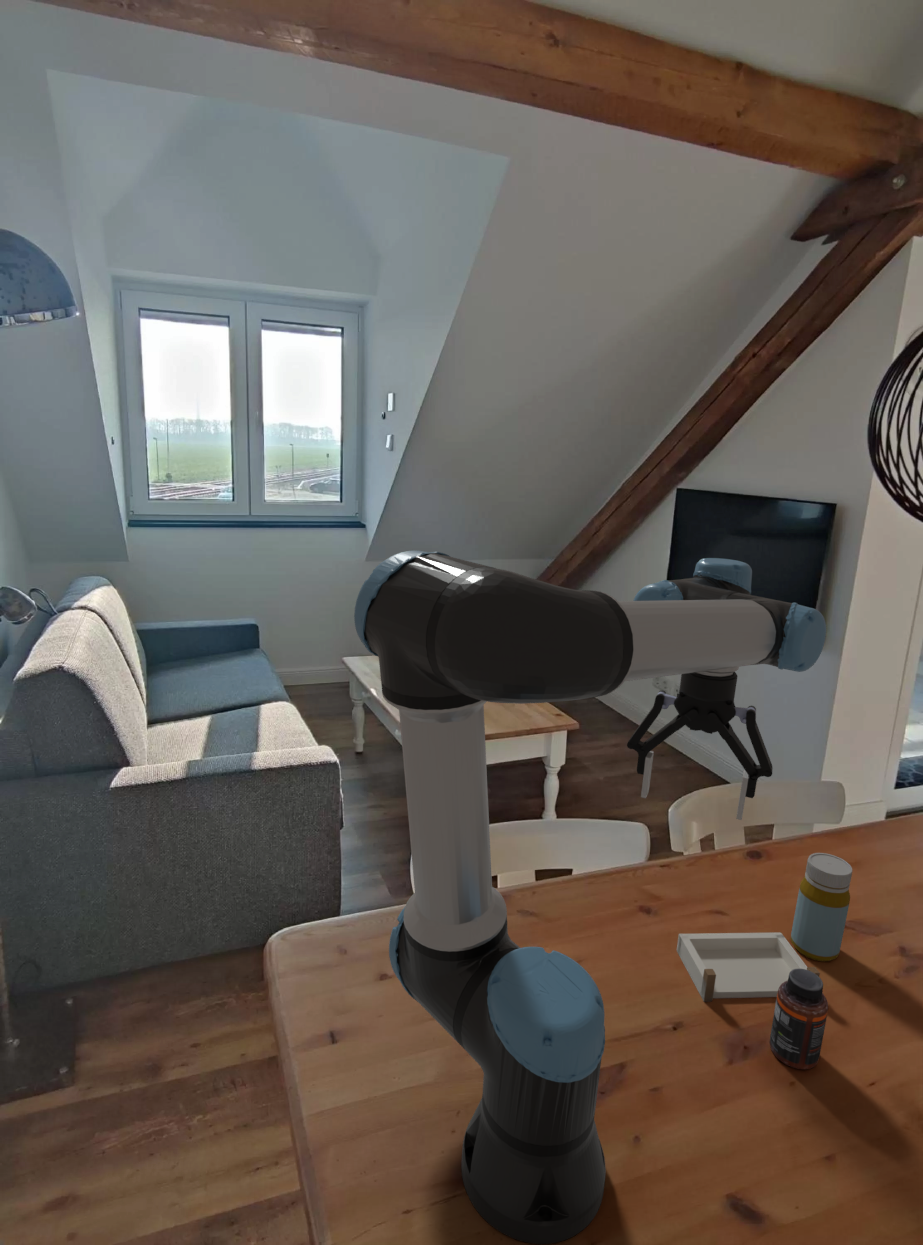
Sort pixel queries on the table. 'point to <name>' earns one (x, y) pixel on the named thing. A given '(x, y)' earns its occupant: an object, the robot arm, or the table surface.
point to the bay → (738, 963)
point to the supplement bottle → (799, 1020)
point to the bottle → (822, 907)
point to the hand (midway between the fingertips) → (691, 804)
